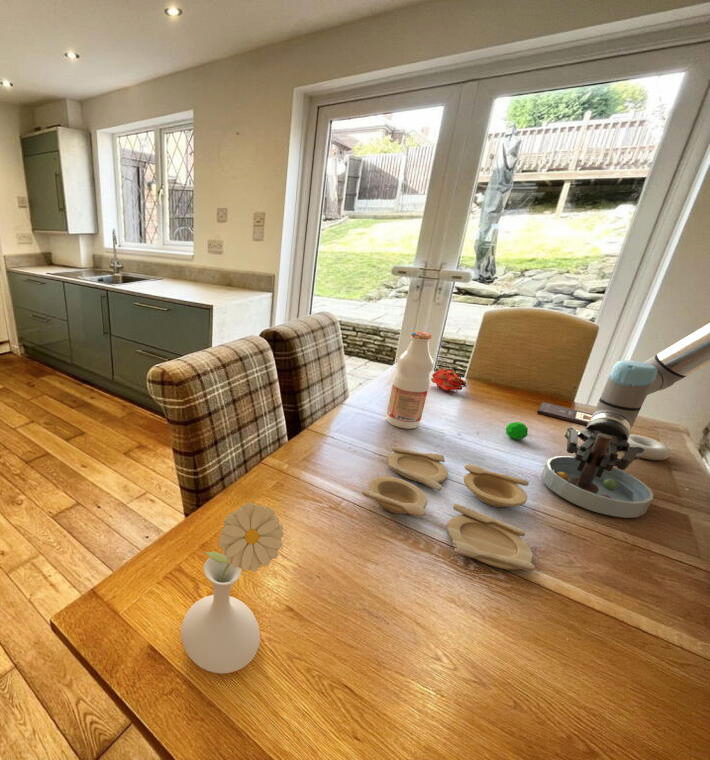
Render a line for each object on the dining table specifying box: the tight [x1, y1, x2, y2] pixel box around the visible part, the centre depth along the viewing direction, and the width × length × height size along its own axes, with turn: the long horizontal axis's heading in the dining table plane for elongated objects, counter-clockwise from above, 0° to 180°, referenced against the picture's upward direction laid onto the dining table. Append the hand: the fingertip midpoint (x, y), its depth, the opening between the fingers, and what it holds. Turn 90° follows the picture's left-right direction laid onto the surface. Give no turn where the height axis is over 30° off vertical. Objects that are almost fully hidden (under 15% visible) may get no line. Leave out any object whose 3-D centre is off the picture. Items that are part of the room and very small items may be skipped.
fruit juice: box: [385, 331, 434, 430], centre depth 115 cm, size 9×9×28 cm
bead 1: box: [556, 472, 568, 481], centre depth 91 cm, size 2×2×2 cm
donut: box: [624, 434, 672, 461], centre depth 105 cm, size 10×4×10 cm
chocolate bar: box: [537, 401, 593, 426], centre depth 123 cm, size 9×1×18 cm
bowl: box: [541, 455, 654, 519], centre depth 88 cm, size 17×17×4 cm
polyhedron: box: [505, 421, 529, 441], centre depth 111 cm, size 5×5×5 cm
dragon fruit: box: [430, 367, 467, 394], centre depth 143 cm, size 8×8×12 cm
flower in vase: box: [180, 502, 285, 674], centre depth 53 cm, size 13×11×25 cm
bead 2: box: [603, 479, 618, 490], centre depth 89 cm, size 2×2×2 cm
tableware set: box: [361, 446, 535, 572], centre depth 85 cm, size 35×29×4 cm
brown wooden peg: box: [568, 433, 612, 494], centre depth 86 cm, size 5×5×14 cm
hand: (590, 468), depth 82 cm, fingers closed on brown wooden peg, 2 cm apart
